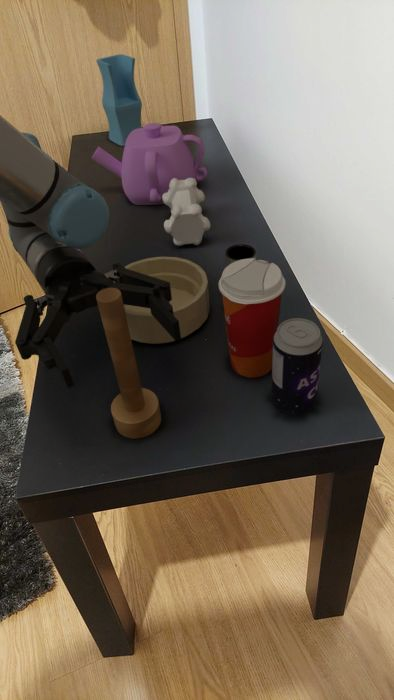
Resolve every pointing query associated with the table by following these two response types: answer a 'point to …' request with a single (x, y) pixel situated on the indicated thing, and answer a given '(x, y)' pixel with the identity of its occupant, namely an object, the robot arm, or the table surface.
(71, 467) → the table surface
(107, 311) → the brown tall rod post
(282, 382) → the beverage can
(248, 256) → the dark grey hollow cylinder
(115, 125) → the vase
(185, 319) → the bowl
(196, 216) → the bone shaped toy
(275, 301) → the coffee cup
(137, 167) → the teapot
